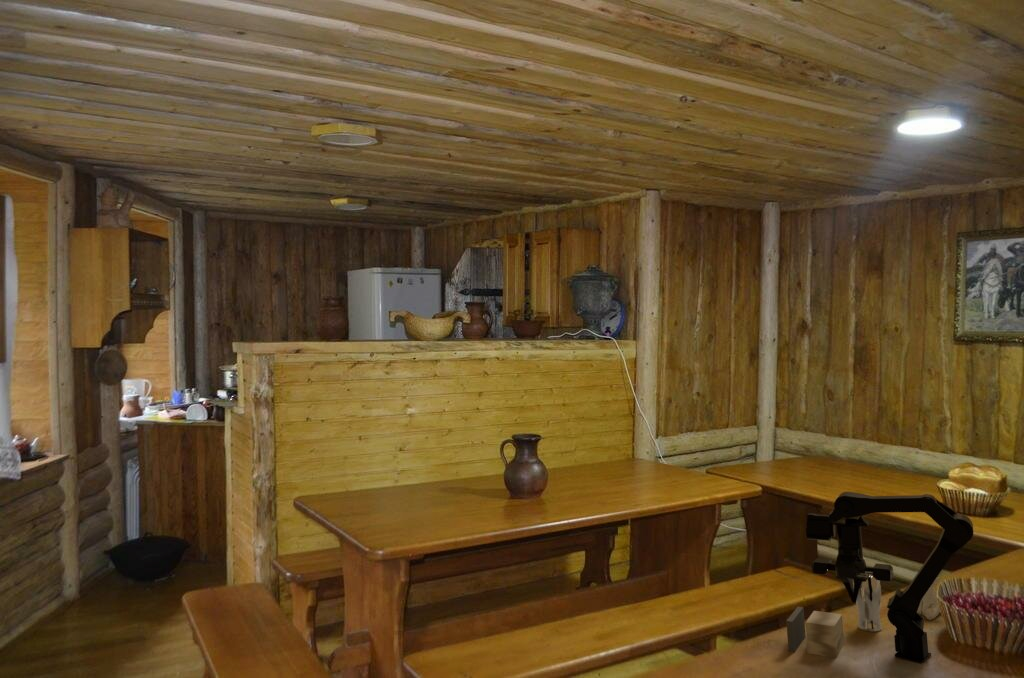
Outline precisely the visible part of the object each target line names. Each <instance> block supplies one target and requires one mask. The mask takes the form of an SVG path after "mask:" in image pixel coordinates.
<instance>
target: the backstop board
mask: <svg viewBox="0 0 1024 678" xmlns="http://www.w3.org/2000/svg"><path fill="white" fill-rule="evenodd" d="M804 610H805V609H804V607H803V606H796V608H795V610H793V612H792V613H791V614H790V616H789V617H788V618H787V619H786V621H785V622H786V623H785V624H786V634H787V635H786V636H787V648H788V649H787V650H788V653H793V654H794V653H796V651H797V650H798V648H799V647H800V646H801V644H802V643H803V641H804V640H805V638H807V635H806V621H805V611H804Z"/></svg>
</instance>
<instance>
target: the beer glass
mask: <svg viewBox="0 0 1024 678" xmlns="http://www.w3.org/2000/svg"><path fill="white" fill-rule="evenodd" d="M852 580H853V579H852ZM853 587H854V580H853ZM881 602H882V587H881V581H880V580H876V579H875V578H874V577H873V575H870V574H869V578H868V579H867V581H866V582H862V585H861V588H860V591H859V594H858V598H857V601H856V603H855V604H856V608H857V612H858V618H857V619H858V620H857V621H858V622H857V628H858V629H859V630H862V631H864V632H870V633H872V632H874V633H875V632H876V633H877V632H880V631H882V630H883V626H882V623H881V616H880V610H881Z"/></svg>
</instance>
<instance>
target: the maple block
mask: <svg viewBox="0 0 1024 678" xmlns="http://www.w3.org/2000/svg"><path fill="white" fill-rule="evenodd" d="M843 622H844V621H843V615H842V613H835V612H826V611H821V610H820V611H819V610H813V611H812V613H811V614H810V615H809V617H808V618H807V620H806V621H805V634H806V646H807V647H806V648H807V654H810V655H812V654H813V655H816V656H822V657H830V658H836V659H837V658H838V657H839V655H840V653H841V651H842V650H843V647H844V646H845V640H844V639H845V638H844V625H843Z"/></svg>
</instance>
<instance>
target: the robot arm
mask: <svg viewBox="0 0 1024 678" xmlns="http://www.w3.org/2000/svg"><path fill="white" fill-rule="evenodd" d="M833 508H834V509H833V510H832V509H831V511H830V512H829V514H823V513H822V514H820V513H813V512H808V513H807V515H806V518H807V519H806V527H805V534H806V539H807V540H812V541H813V540H815V541H828V542H829V541H830V542H831V541H832V538H836V534H837V545H838V548H837V552H838V553H837V556H836V561H835V563H834V562H833V560H832V558H824V557H816V559H815V560H813V562H812V563H811V570H812V571H811V572H812V573H813V574H815V575H816V574H817V575H825V574H826V573H828V571H833V572H835V573H836V575H835V579H836V580H840V581H841V582H842V584H843V586H844V587H845V588H846V591H847V593H848V596H849V599H850V601H851V602H852V604H856V601H857V598H858V594H859V591H860V588H861V585H862V582H866V581H867V579H868V578H869V574H870V575H873V577H874V578H875V579H876V580H880V582H881V581H883V582H891V581H892V579H893V577H894V575H895V574H894V568H893V566H892V565H891V564H886V563H876V562H875V564H874V566H867V564H866V563H867V562H866V560H865V559H864V551H863V549H864V548H863V540H862V539H863V538H862V528H863V527H868V526H869V523H870V522H869V520H868V519H866V518H865V517H864V516H866V515H870V514H877V513H879V514H880V513H883V514H884V513H925V514H926V515H928V517H930V518H931V519H932V521H934V522H935V523H936V524H937V525H938V526H939V527H941V528H942V531H941V533H940V537H939V539H938V542H937V544H936V545H935V547H934V548H933V549H932V551H931V552H930V554H929V555H928V557H927V558H926V560H925V561H924V562H923V564H922V565H921V567H920V569H919V570H918V571H917V573H916V574H915V576H914V577H913V579H912V580H911V582H910V583H909V584H908V586H907V587H906V588H904V589H903V590H901V589H900V588H899V587H897V588H896V589H895V592H894V594H893V596H891V597H890V598H888V602H887V605H886V609H887V615H886V616H887V619H888V622H889V623H890V624H892V626H894V627H895V628H896V629H895V635H893V636H894V650H895V653H894V657H896V658H900V659H903V660H908V661H911V662H914V663H915V662H916V663H919V664H922V663H925V661H926V660H928V659H929V658H930V657H931V656H932V653H931V652H929V645H928V644H929V643H928V632H927V631H924V628H925V619H924V617H923V616H922V615H921V614H919V613H917V610H918V608H919V605H920V602H921V600H922V598H923V597H924V595H925V594H926V592H927V591H928V589H929V588H930V587H931V585H932V584H933V582H934V581H935V579H936V578H938V577H939V575H940V573H941V572H942V571H943V569H944V568H945V566H946V565H947V563H948V562H949V561H950V559H951V558H952V557H953V556H954V554H956V553H957V552H959V551H960V550H961V549H962V548H963V547H964V546H965V545H966V544H968V542H970V541H971V540H972V538H973V537H974V523H973V521H972V520H971V519H970V517H969V516H967V515H966V514H964V513H958V512H956V511H955V510H953V509H952V508H951V507H949V506H947V505H946V504H945V503H943V502H942V501H940V500H938V499H937V498H936V497H935V496H934V495H932V494H928V493H924V494H921V495H919V494H917V495H913V494H911V495H909V494H908V495H871V494H870V495H868V494H865V493H861V492H854V491H853V492H852V491H843V492H841V493H840V494H839V495H838V496H837V498H836V499H835V500H834V503H833ZM841 519H845V520H841ZM836 531H837V532H836ZM853 580H854V587H853Z"/></svg>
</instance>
